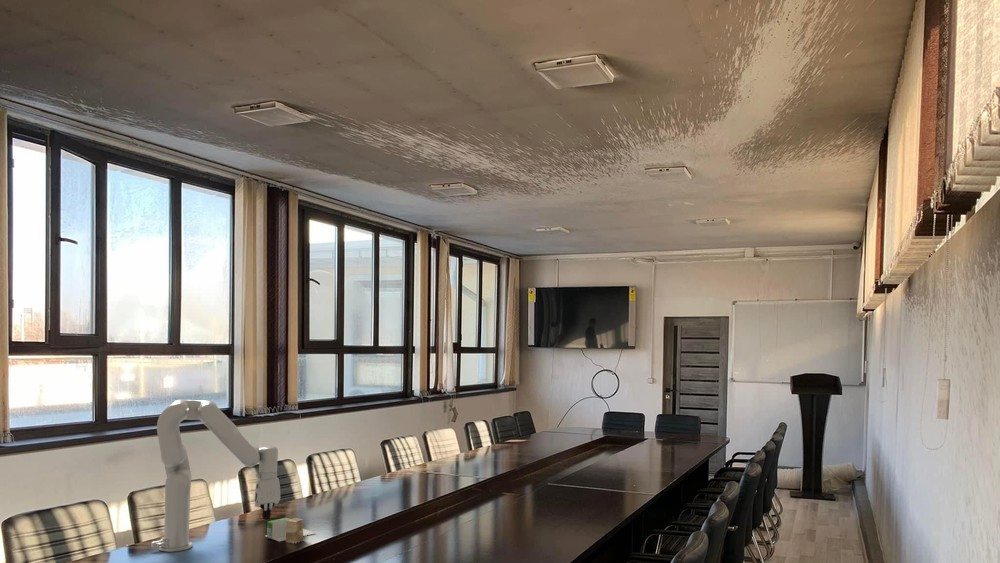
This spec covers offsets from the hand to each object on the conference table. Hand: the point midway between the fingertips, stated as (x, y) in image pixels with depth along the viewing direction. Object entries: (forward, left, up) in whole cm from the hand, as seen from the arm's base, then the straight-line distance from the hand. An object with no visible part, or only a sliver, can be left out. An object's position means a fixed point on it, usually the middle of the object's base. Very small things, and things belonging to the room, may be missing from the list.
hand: (266, 519), depth 322 cm
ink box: (+1, 0, -5) cm, 5 cm away
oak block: (+8, -10, -9) cm, 16 cm away
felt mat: (+12, 0, -9) cm, 15 cm away
